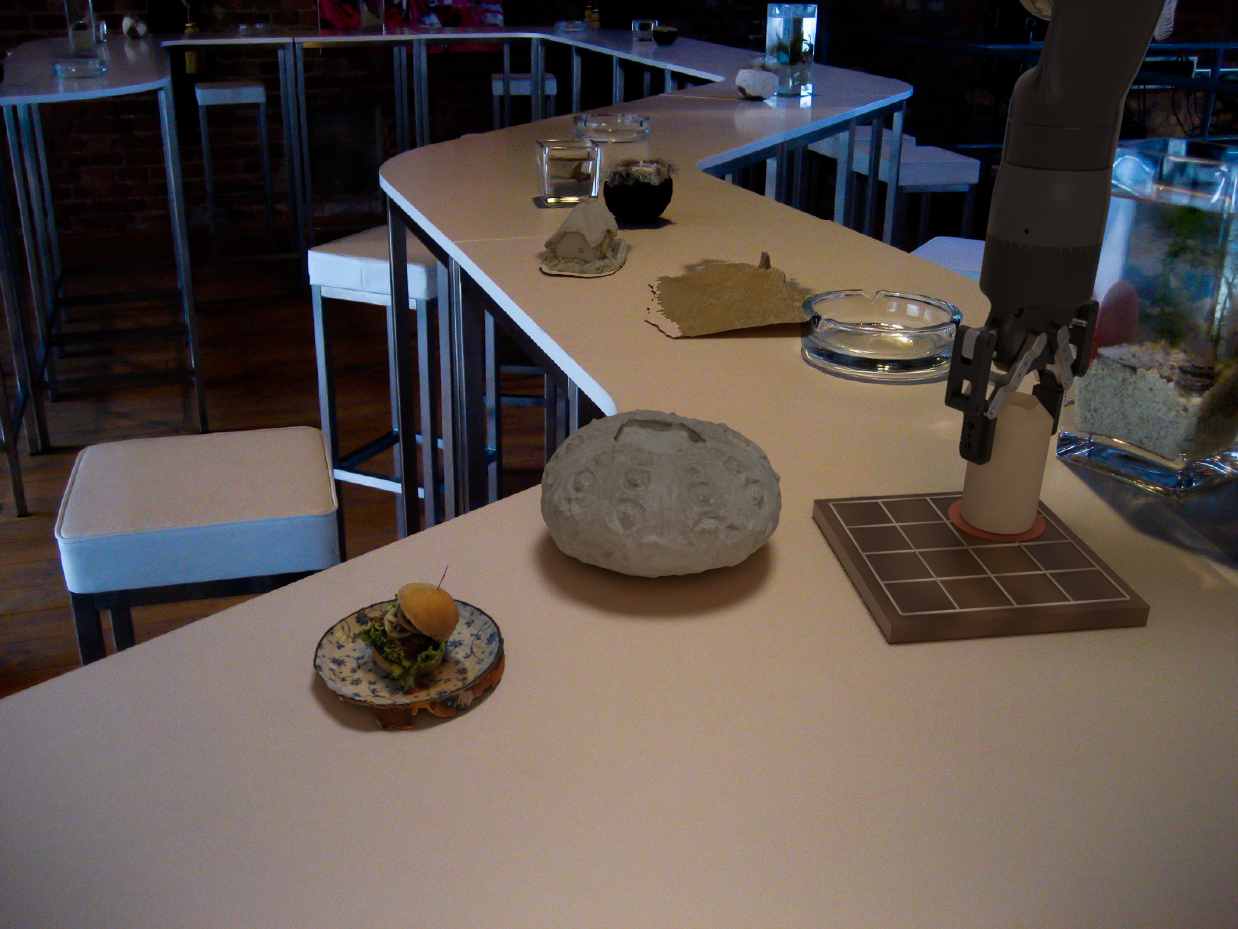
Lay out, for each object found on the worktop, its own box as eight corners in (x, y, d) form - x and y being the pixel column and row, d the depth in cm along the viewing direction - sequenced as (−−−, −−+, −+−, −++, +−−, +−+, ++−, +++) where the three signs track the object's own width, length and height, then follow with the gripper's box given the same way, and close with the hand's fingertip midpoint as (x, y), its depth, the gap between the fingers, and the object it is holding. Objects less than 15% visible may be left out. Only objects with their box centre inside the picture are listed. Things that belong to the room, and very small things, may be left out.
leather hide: (676, 274, 156) (673, 241, 153) (859, 282, 144) (859, 246, 142) (586, 358, 134) (581, 321, 131) (794, 375, 122) (791, 334, 120)
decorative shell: (705, 480, 93) (709, 370, 89) (826, 579, 79) (838, 453, 74) (509, 523, 86) (503, 406, 82) (601, 640, 72) (600, 505, 67)
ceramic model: (600, 282, 148) (600, 209, 144) (528, 273, 152) (525, 201, 148) (639, 258, 160) (640, 189, 156) (571, 250, 164) (570, 183, 160)
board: (1024, 503, 89) (1028, 485, 89) (1146, 625, 73) (1151, 605, 73) (812, 515, 87) (813, 497, 87) (889, 644, 71) (892, 623, 71)
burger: (365, 607, 75) (354, 512, 72) (528, 628, 73) (524, 531, 70) (279, 715, 65) (262, 609, 61) (467, 744, 62) (459, 635, 59)
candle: (1008, 542, 80) (1030, 417, 76) (945, 515, 84) (962, 395, 80) (1048, 520, 83) (1072, 399, 79) (986, 495, 87) (1005, 378, 83)
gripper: (1031, 256, 67) (992, 491, 74) (1153, 224, 75) (1107, 439, 82) (933, 233, 73) (905, 454, 80) (1056, 206, 81) (1021, 409, 88)
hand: (1008, 446), depth 81 cm, fingers open, 7 cm apart
